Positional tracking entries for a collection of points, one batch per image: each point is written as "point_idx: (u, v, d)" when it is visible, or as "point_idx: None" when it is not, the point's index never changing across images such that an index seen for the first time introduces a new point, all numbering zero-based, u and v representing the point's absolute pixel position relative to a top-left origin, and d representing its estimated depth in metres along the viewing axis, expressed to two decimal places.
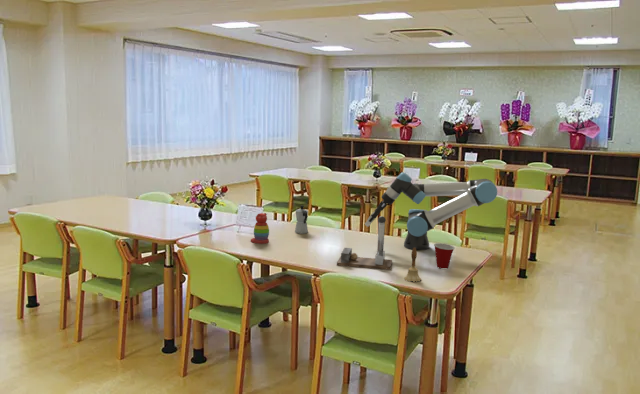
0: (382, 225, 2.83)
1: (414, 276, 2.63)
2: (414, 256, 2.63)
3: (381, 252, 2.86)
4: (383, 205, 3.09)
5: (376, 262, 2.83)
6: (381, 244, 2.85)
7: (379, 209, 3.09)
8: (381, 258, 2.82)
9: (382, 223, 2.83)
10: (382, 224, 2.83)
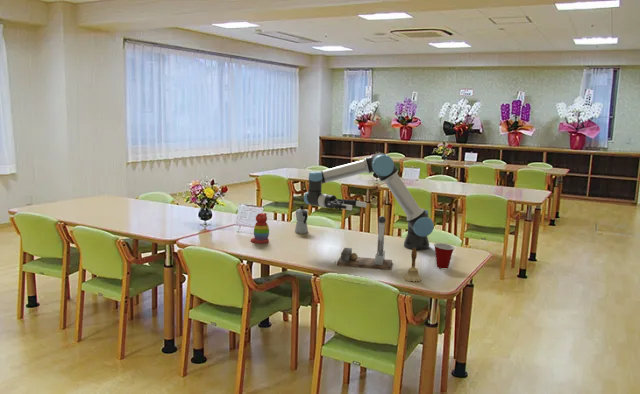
0: (382, 225, 2.83)
1: (414, 276, 2.63)
2: (414, 256, 2.63)
3: (381, 252, 2.86)
4: (328, 203, 2.97)
5: (376, 262, 2.83)
6: (381, 244, 2.85)
7: (331, 205, 2.94)
8: (381, 258, 2.82)
9: (382, 223, 2.83)
10: (382, 224, 2.83)
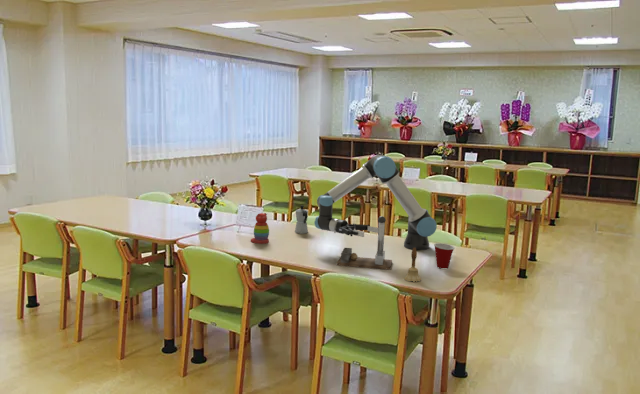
0: (382, 225, 2.83)
1: (414, 276, 2.63)
2: (414, 256, 2.63)
3: (381, 252, 2.86)
4: (339, 229, 2.93)
5: (376, 262, 2.83)
6: (381, 244, 2.85)
7: (343, 231, 2.91)
8: (381, 258, 2.82)
9: (382, 223, 2.83)
10: (382, 224, 2.83)
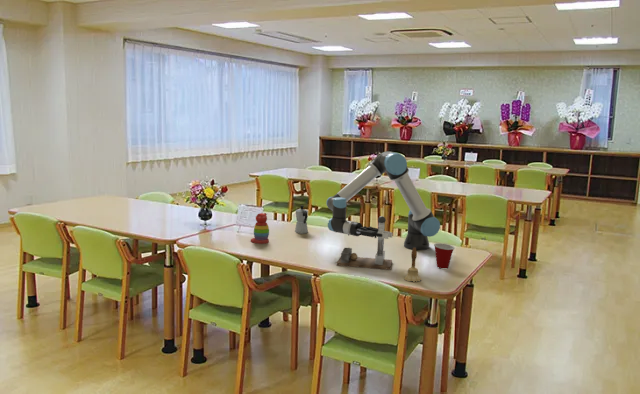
0: (382, 225, 2.83)
1: (414, 276, 2.63)
2: (414, 256, 2.63)
3: (381, 252, 2.86)
4: (358, 232, 2.87)
5: (376, 262, 2.83)
6: (381, 244, 2.85)
7: (363, 233, 2.86)
8: (381, 258, 2.82)
9: (382, 223, 2.83)
10: (382, 224, 2.83)
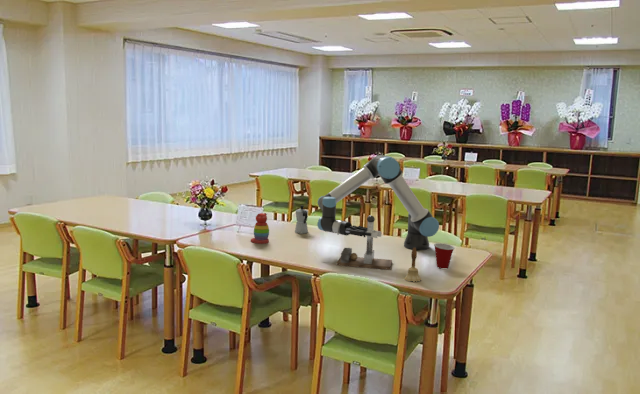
0: (371, 224, 2.85)
1: (414, 276, 2.63)
2: (414, 256, 2.63)
3: (370, 251, 2.87)
4: (347, 231, 2.88)
5: (365, 261, 2.84)
6: (370, 243, 2.86)
7: (352, 232, 2.87)
8: (370, 257, 2.83)
9: (371, 222, 2.84)
10: (371, 223, 2.84)
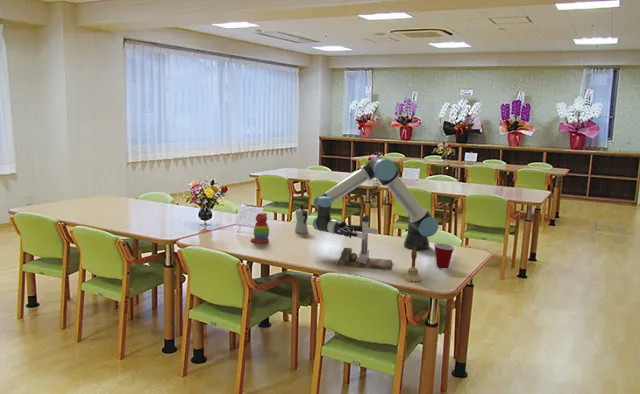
0: (366, 224, 2.85)
1: (414, 276, 2.63)
2: (414, 256, 2.63)
3: (365, 251, 2.88)
4: (338, 230, 2.90)
5: (360, 261, 2.85)
6: (365, 243, 2.87)
7: (342, 232, 2.87)
8: (365, 257, 2.84)
9: (366, 222, 2.85)
10: (366, 223, 2.85)
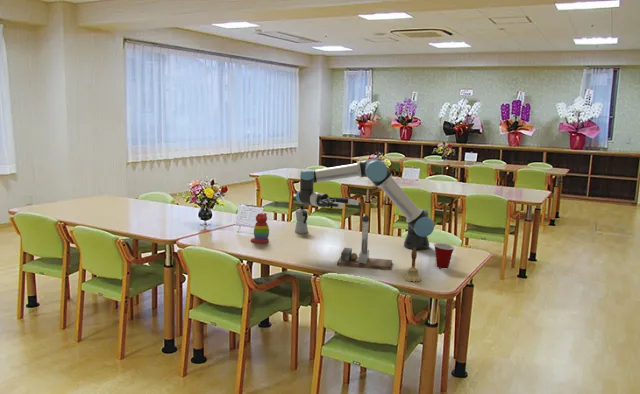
0: (366, 224, 2.85)
1: (414, 276, 2.63)
2: (414, 256, 2.63)
3: (365, 251, 2.88)
4: (320, 201, 2.95)
5: (360, 261, 2.85)
6: (365, 243, 2.87)
7: (323, 203, 2.93)
8: (365, 257, 2.84)
9: (366, 222, 2.85)
10: (366, 223, 2.85)
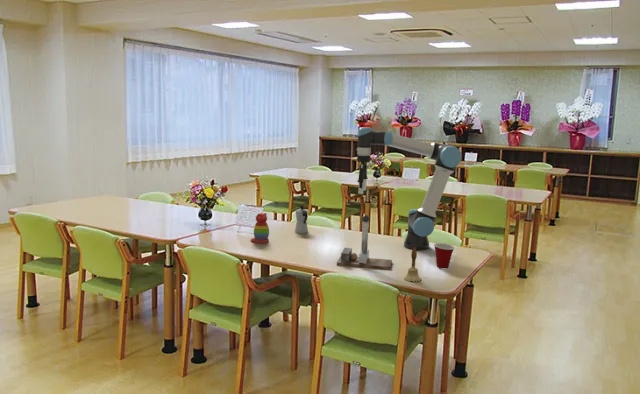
0: (366, 224, 2.85)
1: (414, 276, 2.63)
2: (414, 256, 2.63)
3: (365, 251, 2.88)
4: (362, 166, 3.02)
5: (360, 261, 2.85)
6: (365, 243, 2.87)
7: (361, 171, 3.01)
8: (365, 257, 2.84)
9: (366, 222, 2.85)
10: (366, 223, 2.85)
